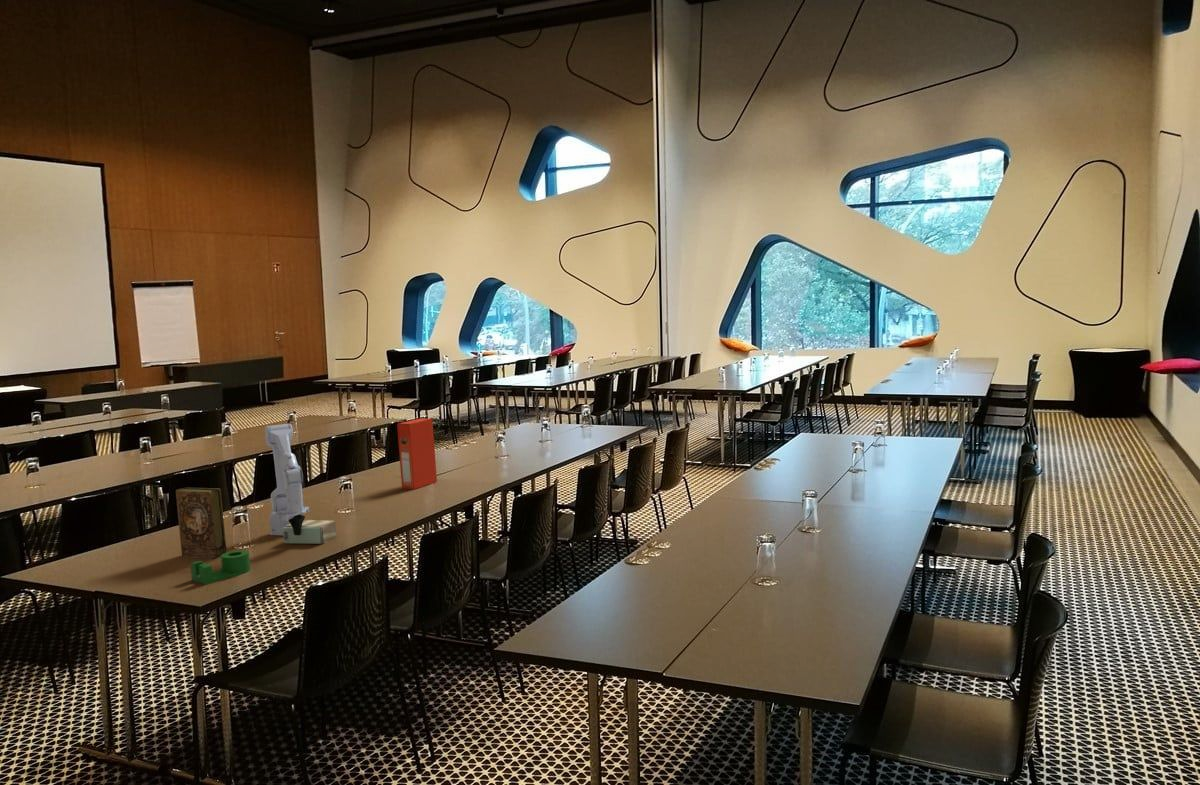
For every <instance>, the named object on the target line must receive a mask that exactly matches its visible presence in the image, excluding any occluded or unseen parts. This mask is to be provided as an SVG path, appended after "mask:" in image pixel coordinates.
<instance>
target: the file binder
mask: <svg viewBox="0 0 1200 785" xmlns="http://www.w3.org/2000/svg"><path fill="white" fill-rule="evenodd" d="M396 426H397V427H396V428H397V439H398V450H399V453H398V454H399V464H400V465H399V466H400V479H401V480H400V481H401V488H402V489H403V490H404V489H405V490H416V489H420V488H423V487H425V486H427V485H430V484H431V485H432V484H434V483H437V482H438V479H437V477H438V476H437V465H436V464H437V463H436V452H435V451H436V450H435V448H436V447H435V436H434V423H433V418H417V419H412V420H408V421H405V422H400V423H399V422H398V423H396Z"/></svg>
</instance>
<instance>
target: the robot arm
mask: <svg viewBox="0 0 1200 785" xmlns="http://www.w3.org/2000/svg"><path fill="white" fill-rule="evenodd" d="M264 436H265V445H266V446H267V447H269V448H271V450H272V452H273V453H272V454H273V455H272V456H273V461H274V472H275V479H276V480H275V481H276V488H275V489H274V490H272V492H271V494H270V506H271V511H272V512H271V514H270V515H269V527H270V533H269V535H270V536H283V528H284V527H286V526H287V525H289V524H291V525H292V528H293V532H294V535H301V527H302V523H303V521H304V520H306V516H305V515H304V514H306V513H309V512H310V506H304V500H303V499H304V498H303V485H302V484H303V482H304V474H303V470H302V468H301V466H300V465H299V464H298V461H297V458H296V455H295V454H294V453H292V449H291V442H292V439H293V437H294V428H293V425H292V424H291V423H283V424H276V425H275V424H274V425H273V424H272V425H266V426H265V428H264Z"/></svg>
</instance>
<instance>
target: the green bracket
mask: <svg viewBox="0 0 1200 785" xmlns="http://www.w3.org/2000/svg"><path fill="white" fill-rule="evenodd" d="M250 562H251V561H250V552H249V550H245V549H239V550H230V551H226V553H224V554H222V555H220V564H221V568H218V569H214V570H212V565H211V564H210V563H208V562H205V563H203V561H201V560H197V561H196V560H195V561H193V562H191V563H190V575H191V581H194V582H196V583H199V584H203V585H204V586H205V585H209V584H212V583H215V582H220V581H222V580H226V579H230V578H234V577H236V576H240V575H243V574H246V573H248V572H251V563H250Z"/></svg>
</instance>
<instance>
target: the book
mask: <svg viewBox="0 0 1200 785" xmlns="http://www.w3.org/2000/svg"><path fill="white" fill-rule="evenodd" d="M175 499H176V509H177V510H176V511H177V520H178V529H179V531H178V532H179V537H180V539H179V540H180V550H181V557H182V558H192V559H193V558H195V559H197V558H198V559H216V558H218V557H219V556H221V555H222V554H224V553H227V539H226V531H225V520H224V510H223V501H222V500H223V498H222V490H221V488H215V487H213V488H210V487H209V488H208V487H182V488H178V489H176V490H175Z"/></svg>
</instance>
